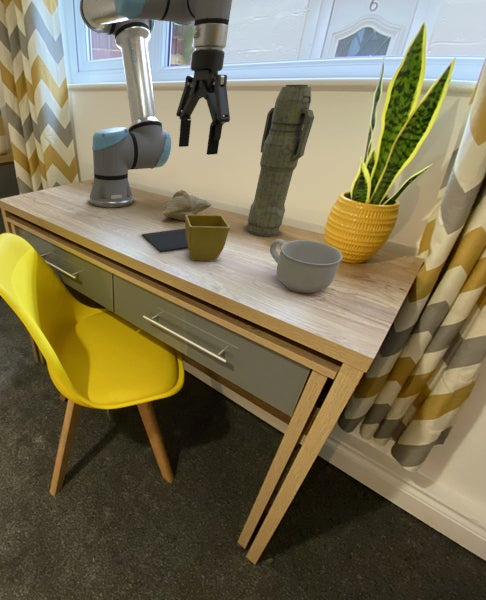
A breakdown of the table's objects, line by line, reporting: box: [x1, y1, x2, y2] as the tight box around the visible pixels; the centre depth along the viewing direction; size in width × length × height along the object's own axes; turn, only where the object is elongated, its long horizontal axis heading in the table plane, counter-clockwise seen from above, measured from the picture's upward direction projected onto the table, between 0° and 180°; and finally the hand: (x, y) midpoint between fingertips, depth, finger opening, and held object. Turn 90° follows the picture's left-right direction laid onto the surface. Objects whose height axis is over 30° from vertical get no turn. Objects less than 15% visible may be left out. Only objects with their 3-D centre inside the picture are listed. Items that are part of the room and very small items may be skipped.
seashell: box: [162, 189, 213, 222], centre depth 101 cm, size 14×9×10 cm
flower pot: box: [184, 214, 231, 262], centre depth 77 cm, size 9×9×9 cm
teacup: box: [269, 238, 344, 294], centre depth 66 cm, size 14×11×8 cm
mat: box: [141, 228, 189, 253], centre depth 88 cm, size 12×16×1 cm
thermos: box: [246, 84, 315, 237], centre depth 85 cm, size 9×12×35 cm
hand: (196, 150), depth 87 cm, fingers open, 13 cm apart
